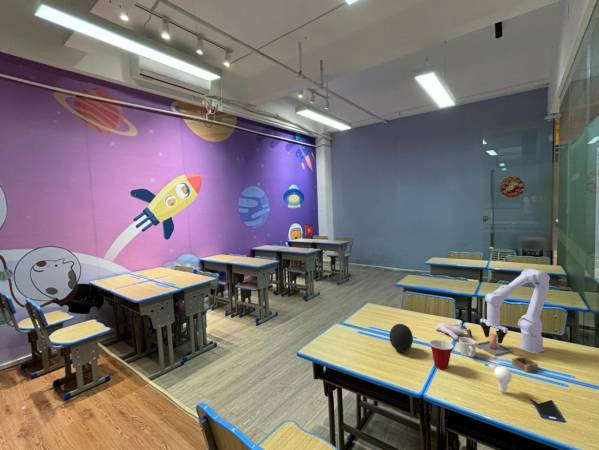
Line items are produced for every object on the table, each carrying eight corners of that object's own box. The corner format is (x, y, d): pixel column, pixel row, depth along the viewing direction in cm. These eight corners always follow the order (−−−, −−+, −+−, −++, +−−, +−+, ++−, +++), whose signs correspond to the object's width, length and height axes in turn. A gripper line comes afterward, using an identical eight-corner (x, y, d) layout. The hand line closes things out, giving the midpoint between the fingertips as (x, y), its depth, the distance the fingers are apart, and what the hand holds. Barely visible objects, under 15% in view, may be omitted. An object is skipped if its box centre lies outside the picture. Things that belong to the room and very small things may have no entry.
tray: (491, 342, 161) (491, 340, 161) (512, 353, 149) (512, 350, 149) (475, 346, 158) (475, 343, 158) (495, 357, 146) (495, 354, 146)
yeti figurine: (476, 336, 173) (442, 326, 188) (476, 325, 173) (442, 316, 188) (466, 345, 160) (430, 334, 175) (466, 333, 160) (430, 323, 175)
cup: (481, 362, 142) (481, 347, 141) (464, 361, 143) (463, 346, 143) (472, 351, 152) (472, 337, 152) (456, 350, 154) (456, 336, 153)
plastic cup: (453, 363, 142) (453, 340, 141) (453, 375, 133) (453, 350, 132) (430, 358, 147) (429, 336, 146) (428, 369, 138) (428, 346, 137)
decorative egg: (399, 342, 165) (398, 318, 164) (417, 351, 155) (417, 325, 154) (385, 349, 159) (384, 323, 158) (403, 358, 148) (403, 331, 147)
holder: (522, 363, 140) (522, 356, 140) (537, 370, 133) (537, 363, 133) (511, 365, 138) (511, 358, 138) (526, 373, 131) (526, 366, 131)
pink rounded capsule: (492, 346, 155) (492, 333, 155) (498, 349, 152) (498, 335, 152) (488, 347, 155) (488, 334, 154) (493, 350, 151) (493, 336, 151)
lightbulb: (512, 399, 115) (512, 373, 114) (494, 394, 118) (494, 369, 118) (510, 390, 120) (511, 365, 120) (493, 386, 124) (493, 362, 123)
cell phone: (541, 418, 105) (541, 416, 105) (528, 395, 117) (528, 393, 117) (566, 424, 102) (566, 422, 102) (550, 399, 114) (550, 397, 114)
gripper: (476, 312, 158) (476, 335, 159) (500, 321, 144) (500, 347, 145) (485, 310, 160) (485, 333, 161) (510, 319, 146) (510, 345, 147)
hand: (493, 339), depth 153 cm, fingers open, 7 cm apart
